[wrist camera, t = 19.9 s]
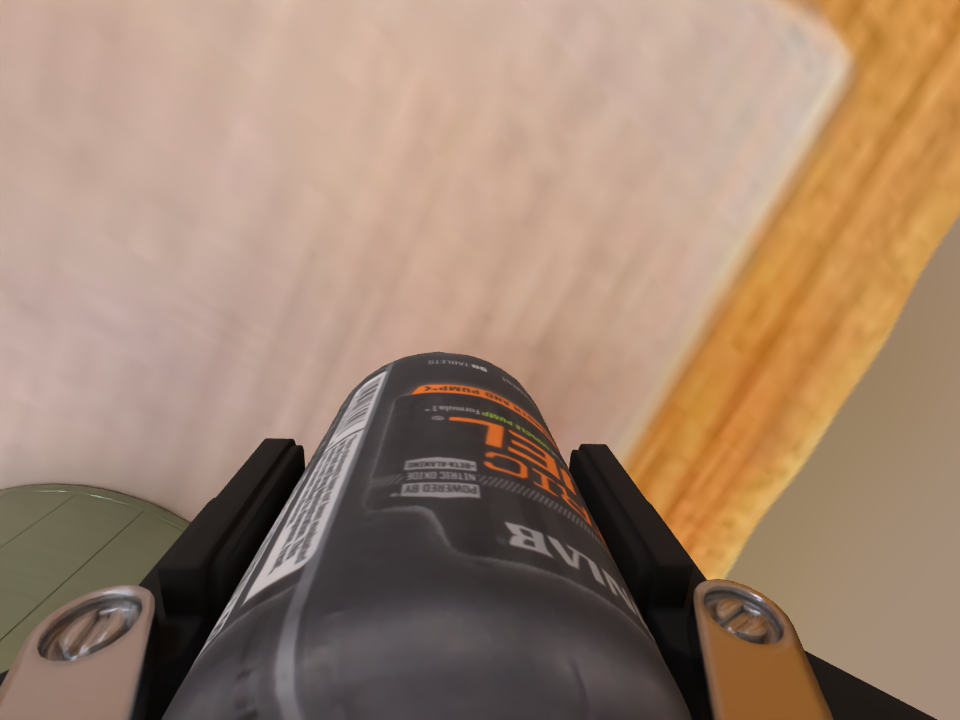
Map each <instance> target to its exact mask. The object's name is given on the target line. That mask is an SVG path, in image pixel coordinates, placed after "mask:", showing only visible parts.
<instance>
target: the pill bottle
mask: <svg viewBox="0 0 960 720" xmlns="http://www.w3.org/2000/svg"><path fill="white" fill-rule="evenodd" d="M161 720H692V718H691V715H690V712H689V710H688V707H687V705H686V703H685V701H684V698H683V696H682V694H681V692H680V690H679V688H678V686H677V684H676V682H675V680H674V678H673V677H672V675H671V673H670V671H669V669H668V667H667V665H666V664H665V662H664V660H663V657H662V655H661V653H660V651H659V649H658V646H657V644H656V642H655V640H654V638H653V636H652V635H651V633H650V632H649V630H648V627H647V626H646V624H645V622H644V620H643V618H642V615H641V613H640V611H639V609H638V607H637V605H636V603H635V601H634V599H633V597H632V595H631V593H630V592H629V590H628V587H627V585H626V583H625V580H624V579H623V577H622V575H621V573H620V572H619V570H618V568H617V566H616V564H615V562H614V560H613V558H612V556H611V554H610V552H609V550H608V548H607V546H606V543H605V541H604V539H603V538H602V536H601V533H600V531H599V529H598V527H597V525H596V523H595V521H594V519H593V518H592V515H591V513H590V512H589V510H588V508H587V505H586V503H585V501H584V499H583V497H582V496H581V494H580V491H579V489H578V487H577V485H576V483H575V481H574V479H573V477H572V475H571V473H570V471H569V469H568V467H567V465H566V463H565V461H564V459H563V458H562V456H561V454H560V452H559V449H558V447H557V445H556V443H555V441H554V439H553V438H552V435H551V433H550V431H549V429H548V427H547V425H546V423H545V422H544V420H543V418H542V415H541V413H540V411H539V409H538V408H537V406H536V404H535V403H534V401H533V400H532V398H531V397H530V396H529V394H528V393H527V392H526V391H525V389H524V388H523V387H522V386H521V384H520V383H519V382H518V381H517V380H516V379H515V378H513V377H512V376H510V375H509V374H508V373H506V372H505V371H503V370H502V369H500V368H499V367H497V366H495V365H493V364H491V363H489V362H487V361H484V360H482V359H479V358H476V357H472V356H468V355H461V354H452V353H444V352H433V353H424V354H417V355H413V356H408V357H404V358H401V359H399V360H396V361H394V362H392V363H389V364H387V365H385V366H383V367H381V368H380V369H378V370H376V371H375V372H373V373H372V374H370V375H369V376H367V377H366V378H365V379H364V380H363V381H362V382H361V383H360V384H359V385H358V386H357V387H356V388H355V389H354V390H353V391H352V392H351V393H350V394H349V396H348V397H347V399H346V400H345V402H344V403H343V404H342V406H341V407H340V409H339V411H338V413H337V415H336V417H335V419H334V420H333V422H332V424H331V426H330V428H329V430H328V431H327V433H326V435H325V436H324V438H323V440H322V442H321V443H320V445H319V447H318V448H317V450H316V452H315V454H314V456H313V457H312V459H311V461H310V462H309V464H308V465H307V467H306V469H305V471H304V472H303V475H302V476H301V478H300V480H299V481H298V483H297V485H296V487H295V488H294V490H293V492H292V494H291V495H290V497H289V499H288V501H287V502H286V504H285V506H284V508H283V509H282V511H281V513H280V515H279V516H278V518H277V520H276V521H275V523H274V525H273V526H272V528H271V530H270V532H269V533H268V535H267V537H266V538H265V540H264V542H263V543H262V545H261V547H260V549H259V550H258V552H257V554H256V555H255V557H254V559H253V561H252V562H251V564H250V566H249V568H248V570H247V571H246V573H245V575H244V576H243V578H242V580H241V581H240V583H239V585H238V587H237V588H236V590H235V592H234V593H233V595H232V597H231V599H230V600H229V602H228V604H227V606H226V608H225V610H224V611H223V613H222V615H221V617H220V618H219V620H218V622H217V623H216V625H215V627H214V628H213V630H212V632H211V634H210V635H209V637H208V639H207V641H206V643H205V644H204V646H203V648H202V650H201V651H200V653H199V655H198V657H197V658H196V660H195V662H194V664H193V665H192V667H191V669H190V671H189V673H188V674H187V676H186V678H185V679H184V681H183V682H182V684H181V686H180V687H179V689H178V690H177V692H176V694H175V696H174V697H173V699H172V701H171V703H170V705H169V706H168V708H167V710H166V712H165V714H164V715H163V717H162V719H161Z"/></svg>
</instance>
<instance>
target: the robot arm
mask: <svg viewBox="0 0 960 720" xmlns="http://www.w3.org/2000/svg"><path fill="white" fill-rule="evenodd" d="M304 471H305V459H304V449H303V446H302V445H296V444H295V441H294V440H293V439H271V438H266V439H265V440H264V441H263V442H262V443H261V444H260V446H259V447H258V448H257V449H256V450H255V452H254V453H253V454H252V455H251V456H250V458H249V459H248V460H247V461H246V462H245V464H244V465H243V466H242V467H241V468H240V470H239V471H238V472H237V473H236V474H235V476H234V477H233V478H232V479H231V480H230V482H229V483H228V484H227V485H226V486H225V488H224V489H223V490H222V491H221V492H220V494H219V495H218V496H217V497H216V498H213V499H212V500H211V501H210V502H208V504H207V505H206V506H205V507H204V508H203V509H202V511H201V512H200V513H199V514H198V515H197V516H196V518H195V519H194V520H193V521H192V522H191V524H190V525H189V526H188V527H187V528H186V529H185V531H184V532H183V533H182V534H181V535H180V537H179V538H178V539H177V540H176V541H175V542H174V544H173V545H172V546H171V547H170V548H169V550H168V551H167V552H166V553H165V554H164V555H163V557H162V558H161V559H160V560H159V561H158V563H157V564H156V565H155V566H154V567H153V568H152V570H151V571H150V572H149V573H148V574H147V576H146V577H145V578H144V579H143V580H142V581H141V583H140V584H139V585H138V586H135V585H120V586H113V587H106V588H103V589H100V590H97V591H94V592H90V593H87V594H85V595H83V596H81V597H79V598H77V599H74V600H72V601H70V602H68V603H66V604H65V605H63V606H62V607H60V608H59V609H57V610H56V611H54V612H52V613H51V614H49V615H48V616H47V617H46V618H45V619H44V620H43V621H41V622H40V623H39V624H38V625H37V626H36V627H35V628H34V629H33V630H32V632H31V633H30V634H29V636H28V637H27V638H26V640H25V641H24V643H23V645H22V647H21V649H20V651H19V652H18V654H17V656H16V658H15V660H14V662H13V664H12V666H11V668H10V669H9V670H7V671H5V672H3V673H1V674H0V720H161V719H162V717H163V715H164V714H165V712H166V710H167V708H168V706H169V705H170V703H171V701H172V699H173V697H174V696H175V694H176V692H177V690H178V689H179V687H180V686H181V684H182V682H183V681H184V679H185V678H186V676H187V674H188V673H189V671H190V669H191V667H192V665H193V664H194V662H195V660H196V658H197V657H198V655H199V653H200V651H201V650H202V648H203V646H204V644H205V643H206V641H207V639H208V637H209V635H210V634H211V632H212V630H213V628H214V627H215V625H216V623H217V622H218V620H219V618H220V617H221V615H222V613H223V611H224V610H225V608H226V606H227V604H228V602H229V600H230V599H231V597H232V595H233V593H234V592H235V590H236V588H237V587H238V585H239V583H240V581H241V580H242V578H243V576H244V575H245V573H246V571H247V570H248V568H249V566H250V564H251V562H252V561H253V559H254V557H255V555H256V554H257V552H258V550H259V549H260V547H261V545H262V543H263V542H264V540H265V538H266V537H267V535H268V533H269V532H270V530H271V528H272V526H273V525H274V523H275V521H276V520H277V518H278V516H279V515H280V513H281V511H282V509H283V508H284V506H285V504H286V502H287V501H288V499H289V497H290V495H291V494H292V492H293V490H294V488H295V487H296V485H297V483H298V481H299V480H300V478H301V476H302V475H303V472H304ZM569 471H570V473H571V475H572V477H573V479H574V481H575V483H576V485H577V487H578V489H579V491H580V494H581V496H582V497H583V499H584V501H585V503H586V505H587V508H588V510H589V512H590V513H591V515H592V518H593V519H594V521H595V523H596V525H597V527H598V529H599V531H600V533H601V536H602V538H603V539H604V541H605V543H606V546H607V548H608V550H609V552H610V554H611V556H612V558H613V560H614V562H615V564H616V566H617V568H618V570H619V572H620V573H621V575H622V577H623V579H624V580H625V583H626V585H627V587H628V590H629V592H630V593H631V595H632V597H633V599H634V601H635V603H636V605H637V607H638V609H639V611H640V613H641V615H642V618H643V620H644V622H645V624H646V626H647V627H648V630H649V632H650V633H651V635H652V636H653V638H654V640H655V642H656V644H657V646H658V649H659V651H660V653H661V655H662V657H663V660H664V662H665V664H666V665H667V667H668V669H669V671H670V673H671V675H672V677H673V678H674V680H675V682H676V684H677V686H678V688H679V690H680V692H681V694H682V696H683V698H684V701H685V703H686V705H687V707H688V710H689V712H690V715H691V718H692V720H937V719H935V718H933V717H931V716H929V715H927V714H925V713H923V712H921V711H920V710H918V709H916V708H914V707H912V706H910V705H908V704H906V703H904V702H902V701H900V700H899V699H896V698H895V697H893V696H891V695H889V694H887V693H885V692H883V691H881V690H879V689H877V688H876V687H874V686H872V685H870V684H868V683H866V682H864V681H862V680H860V679H858V678H856V677H854V676H852V675H851V674H849V673H847V672H845V671H843V670H841V669H839V668H837V667H835V666H833V665H831V664H829V663H828V662H825V661H824V660H822V659H820V658H818V657H816V656H814V655H812V654H810V653H808V652H806V651H805V650H804V649H803V647H802V644H801V642H800V640H799V637H798V635H797V633H796V630H795V628H794V626H793V624H792V623H791V621H790V619H789V618H788V616H787V615H786V614H785V613H784V612H783V611H782V610H781V609H780V608H779V607H778V606H777V604H775V603H774V602H773V601H771V600H770V599H768V598H767V597H766V596H765V595H763V594H762V593H760V592H758V591H756V590H754V589H752V588H750V587H748V586H745V585H743V584H739V583H737V582H734V581H728V580H722V579H714V580H706V578H705V577H704V575H703V574H702V573H701V571H700V570H699V569H698V567H697V566H696V565H695V563H694V562H693V560H692V559H691V558H690V556H689V555H688V554H687V552H686V551H685V550H684V548H683V547H682V545H681V544H680V543H679V541H678V540H677V539H676V537H675V536H674V535H673V533H672V532H671V530H670V529H669V528H668V526H667V525H666V524H665V522H664V521H663V520H662V518H661V517H660V515H659V514H658V513H657V511H656V510H655V509H654V507H653V506H652V505H651V504H650V503H649V502H648V501H647V500H646V499H645V497H644V496H643V495H642V493H641V492H640V490H639V489H638V488H637V486H636V485H635V484H634V482H633V481H632V479H631V478H630V477H629V475H628V474H627V473H626V471H625V470H624V468H623V467H622V466H621V464H620V463H619V462H618V460H617V459H616V457H615V456H614V455H613V453H612V452H611V451H610V449H609V448H608V446H607V445H605V444H581V445H580V447H579V450H573V451H572V453H571V458H570V465H569Z"/></svg>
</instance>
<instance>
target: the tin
mask: <svg viewBox="0 0 960 720" xmlns="http://www.w3.org/2000/svg"><path fill="white" fill-rule="evenodd" d="M189 525H190V523H188V522H187V521H185V520H184V519H182V518H180V517H178V516H176V515H174V514H172V513H170V512H168V511H167V510H165V509H163V508H160V507H158V506H156V505H153V504H151V503H148V502H146V501H143V500H141V499H138V498H135V497H131V496H128V495H124V494H121V493H118V492H114V491H110V490H105V489H99V488H93V487H88V486H79V485H65V484H42V485H27V486H21V487H14V488H8V489H3V490H0V674H1V673H3V672H5V671H7V670H9V669H10V668H11V666H12V664H13V662H14V660H15V658H16V656H17V654H18V652H19V651H20V649H21V647H22V645H23V643H24V641H25V640H26V638H27V637H28V636H29V634H30V633H31V632H32V630H33V629H34V628H35V627H36V626H37V625H38V624H39V623H40V622H41V621H43V620H44V619H45V618H46V617H47V616H48V615H49V614H51V613H52V612H54V611H56V610H57V609H59V608H60V607H62V606H63V605H65V604H66V603H68V602H70V601H72V600H74V599H77V598H79V597H81V596H83V595H85V594H87V593H90V592H94V591H97V590H100V589H103V588H106V587H113V586H120V585H135V586H138V585H139V584H140V583H141V581H142V580H143V579H144V578H145V577H146V576H147V574H148V573H149V572H150V571H151V570H152V568H153V567H154V566H155V565H156V564H157V563H158V561H159V560H160V559H161V558H162V557H163V555H164V554H165V553H166V552H167V551H168V550H169V548H170V547H171V546H172V545H173V544H174V542H175V541H176V540H177V539H178V538H179V537H180V535H181V534H182V533H183V532H184V531H185V529H186V528H187V527H188V526H189Z"/></svg>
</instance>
